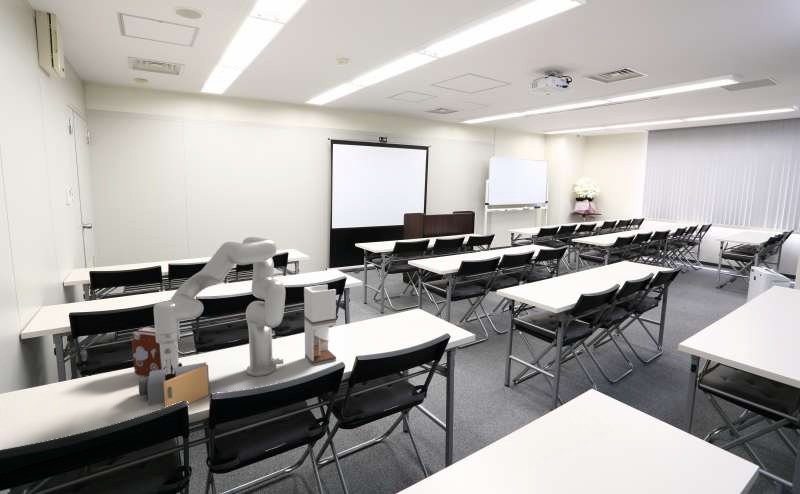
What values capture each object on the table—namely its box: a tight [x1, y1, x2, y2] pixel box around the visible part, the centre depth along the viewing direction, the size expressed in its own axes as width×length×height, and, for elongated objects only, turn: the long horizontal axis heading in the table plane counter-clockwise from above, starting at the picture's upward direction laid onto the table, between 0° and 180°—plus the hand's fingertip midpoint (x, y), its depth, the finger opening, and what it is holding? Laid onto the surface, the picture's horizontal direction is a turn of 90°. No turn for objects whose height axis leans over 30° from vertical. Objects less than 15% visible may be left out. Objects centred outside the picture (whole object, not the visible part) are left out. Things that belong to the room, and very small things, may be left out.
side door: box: [163, 364, 210, 408], centre depth 149 cm, size 17×2×12 cm, turn 149°
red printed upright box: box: [131, 326, 183, 378], centre depth 170 cm, size 9×19×20 cm, turn 78°
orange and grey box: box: [138, 361, 207, 406], centre depth 156 cm, size 23×12×8 cm, turn 118°
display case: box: [303, 284, 337, 367], centre depth 188 cm, size 11×11×35 cm
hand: (170, 383), depth 146 cm, fingers closed
